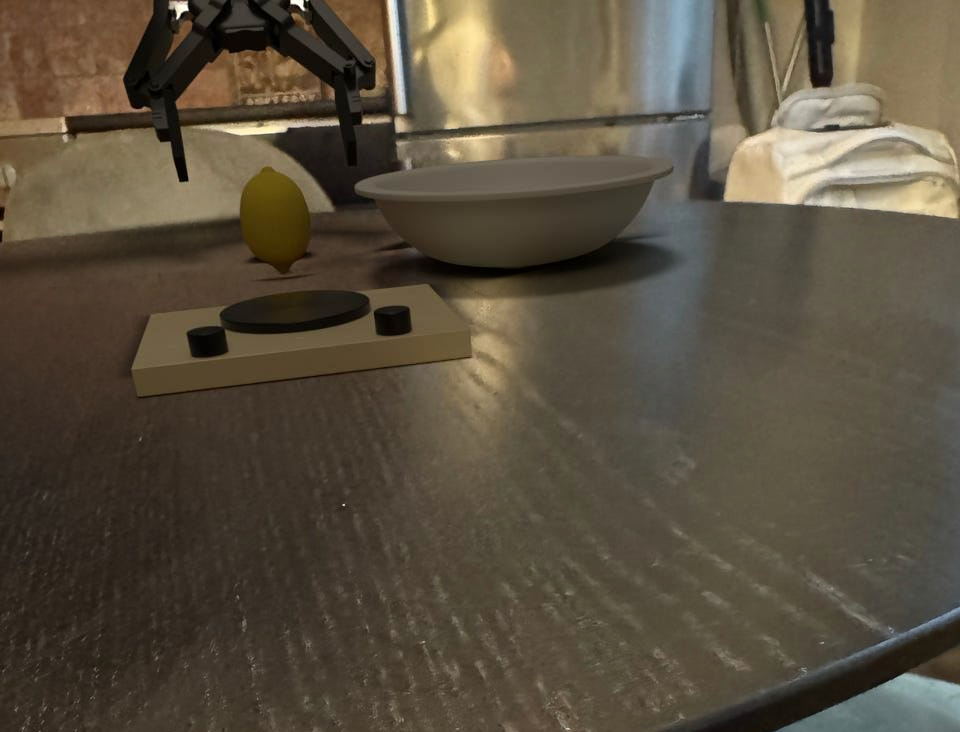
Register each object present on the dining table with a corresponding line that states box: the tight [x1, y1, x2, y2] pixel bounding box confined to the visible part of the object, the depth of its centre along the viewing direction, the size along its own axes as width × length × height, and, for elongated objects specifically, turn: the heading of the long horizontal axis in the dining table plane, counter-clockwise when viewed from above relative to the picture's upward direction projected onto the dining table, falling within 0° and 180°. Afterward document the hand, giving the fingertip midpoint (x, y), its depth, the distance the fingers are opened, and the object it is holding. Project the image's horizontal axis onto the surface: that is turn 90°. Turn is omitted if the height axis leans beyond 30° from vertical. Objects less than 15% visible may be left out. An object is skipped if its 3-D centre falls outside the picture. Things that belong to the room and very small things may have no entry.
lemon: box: [239, 165, 312, 274], centre depth 79 cm, size 6×6×8 cm
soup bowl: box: [354, 154, 675, 269], centre depth 76 cm, size 24×24×7 cm
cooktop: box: [130, 283, 473, 398], centre depth 58 cm, size 14×18×3 cm
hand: (267, 162), depth 79 cm, fingers open, 13 cm apart
